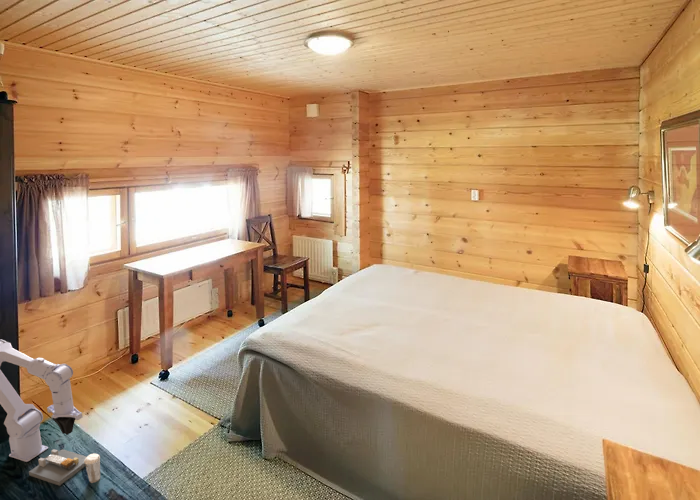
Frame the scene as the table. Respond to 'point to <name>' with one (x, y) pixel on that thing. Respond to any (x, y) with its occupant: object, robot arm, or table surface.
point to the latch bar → (59, 460)
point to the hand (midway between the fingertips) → (67, 432)
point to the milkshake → (93, 467)
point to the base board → (58, 468)
